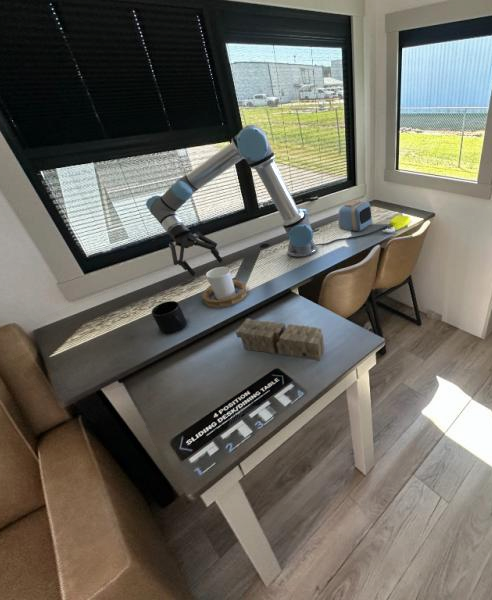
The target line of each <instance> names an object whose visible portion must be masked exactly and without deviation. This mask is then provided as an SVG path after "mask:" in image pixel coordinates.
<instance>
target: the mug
mask: <svg viewBox="0 0 492 600" xmlns="http://www.w3.org/2000/svg"><path fill="white" fill-rule="evenodd" d="M150 312H151V315H152V317H153V319H154V322H155V324H156V326H157V327H158V329H159V331H160V332H161V334H164V335H172V334H176V333H178V332H180V331H182V330H183V329H184V328H185V327H186V326H187V324H188V322H187V319H186V317H185V315H184V313H183V309H182V307H181V306H180V304H179V302H178V301H175V300H168V301H165V302H161V303H159V304H157V305H155V306H154V307H153V308H152V310H151V311H150Z"/></svg>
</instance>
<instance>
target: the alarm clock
mask: <svg viewBox="0 0 492 600" xmlns="http://www.w3.org/2000/svg"><path fill="white" fill-rule="evenodd" d="M371 208H372V207H371V203H370V202H368V201H361V199H351V200H349V201H346V202H345V204H344V205H343V206H341V207H340V208H339V210H338V227H339V229H343V230H349V231H354V232H362V231H363V230H364V229H367V228H368V227H369V226H371V224H373V223H372V222H373V218H372V209H371Z"/></svg>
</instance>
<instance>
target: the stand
mask: <svg viewBox="0 0 492 600" xmlns="http://www.w3.org/2000/svg"><path fill="white" fill-rule="evenodd" d="M232 280H233V284H234V288H239V289H240V290H239V291H238V293H236V294H235V295H234V296H232V297H230V298H226V299H222V300H217V299H211V298H210V296H212V295H214V292H213V290H212V288H211V285H209V286H208V287H206V288H205V290H204V291H202V300H203V303H204V305H206V306H208V307H209V308H214V309H215V308H216V309H217V308H218V309H223V308H227V307H230V306H233V305H236V304H237V303H239V302H241V301H243V300H244V298H245V297H246V296H247V295H248V291H247V290H248V289H247V286H246V282H245V281H242V280H240V279H232Z"/></svg>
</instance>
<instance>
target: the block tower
mask: <svg viewBox="0 0 492 600" xmlns="http://www.w3.org/2000/svg"><path fill="white" fill-rule="evenodd" d="M235 335H236V338H238V339H241V342H242V345H243V349H244V350H248V351H254V352H261V353H269V354H274V355H275V354H276V353H277V352H278V354H279V355H282V356H288V357H295V358H301V359H303V358H304V357H305V355H306V359H307V360H315V361H321V359H322V356H323V355H324V352H325V343H324V335H323V333H322V328H321V327H314V326H308V325H297V324H292V323H291V324H290V323H288V324H287V326H286V323H285V322H276V321H269V320H257V319H251V318H248V317H247V318H246V319H245V320H244V321H243V323H241V325H240V326H239V327H238V328H237V329H236V331H235Z"/></svg>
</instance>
